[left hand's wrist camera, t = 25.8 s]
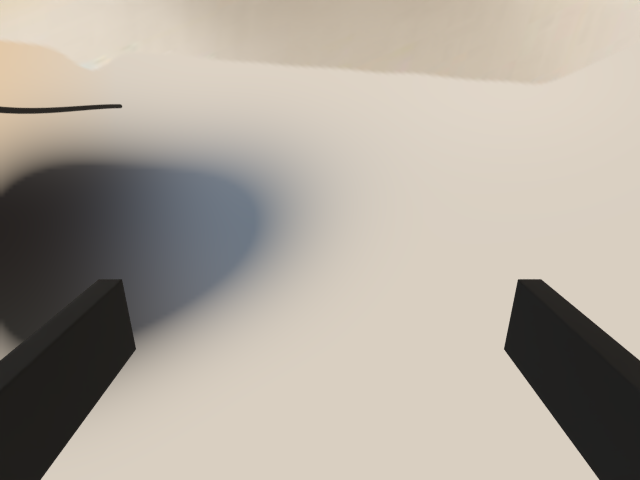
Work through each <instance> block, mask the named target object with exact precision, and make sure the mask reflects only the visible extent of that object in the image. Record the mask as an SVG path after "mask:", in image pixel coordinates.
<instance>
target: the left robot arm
mask: <svg viewBox="0 0 640 480" xmlns="http://www.w3.org/2000/svg"><path fill="white" fill-rule="evenodd" d="M112 108H122V105H121V104H103V105H85V106H70V107H51V108H15V107H1V106H0V113H10V114H41V113H59V112H72V111H84V110H96V109H112ZM135 350H136V347H135V342H134V337H133V332H132V327H131V323H130V317H129V313H128V307H127V302H126V297H125V292H124V287H123V283H122V280H121V279H118V280H117V279H114V280H113V279H101V280H98V281H96V282H95V283H94V284H93V285H91V286H90V287H89V288H88V289H87V290H85V291H84V292H83V293H82V294H81V295H79V296H78V297H77V298H76V299H74V300H73V301H72V302H71V303H70V304H68V305H67V306H66V307H65V308H64V309H62V310H61V311H60V312H59V313H58V314H56V315H55V316H54V317H53V318H51V319H50V320H49V321H48V322H47V323H45V324H44V325H43V326H42V327H41V328H39V329H38V330H37V331H36V332H34V333H33V334H32V335H31V336H30V337H28V338H27V339H26V340H25V341H24V342H22V343H21V344H20V345H19V346H18V347H16V348H15V349H14V350H13V351H11V352H10V353H9V354H8V355H7V356H5V357H4V358H3V359H2V360H0V480H41V478H42V477H43V476H44V474H45V473H46V471H47V470H48V469H49V467H50V466H51V465H52V463H53V462H54V460H55V459H56V458H57V456H58V455H59V454H60V452H61V451H62V450H63V448H64V447H65V446H66V444H67V443H68V441H69V440H70V439H71V437H72V436H73V435H74V433H75V432H76V430H77V429H78V428H79V426H80V425H81V424H82V422H83V421H84V420H85V418H86V417H87V415H88V414H89V413H90V411H91V410H92V409H93V407H94V406H95V404H96V403H97V402H98V400H99V399H100V398H101V396H102V395H103V393H104V392H105V391H106V389H107V388H108V387H109V385H110V384H111V383H112V381H113V380H114V378H115V377H116V376H117V374H118V373H119V372H120V370H121V369H122V367H123V366H124V365H125V363H126V362H127V361H128V359H129V358H130V357H131V355H132V354H133V352H134V351H135ZM504 350H505V351H506V352H507V354H508V355H509V357H510V358H511V359H512V361H513V362H514V363H515V365H516V366H517V368H518V369H519V370H520V372H521V373H522V374H523V376H524V377H525V378H526V380H527V381H528V383H529V384H530V385H531V387H532V388H533V389H534V391H535V392H536V394H537V395H538V396H539V398H540V399H541V400H542V402H543V403H544V404H545V406H546V407H547V408H548V410H549V411H550V413H551V414H552V415H553V417H554V418H555V420H556V421H557V422H558V424H559V425H560V426H561V428H562V429H563V430H564V432H565V433H566V435H567V436H568V437H569V439H570V440H571V441H572V443H573V444H574V445H575V447H576V448H577V450H578V451H579V452H580V454H581V455H582V456H583V458H584V459H585V460H586V462H587V463H588V465H589V466H590V467H591V469H592V470H593V471H594V473H595V474H596V476H597V477H598V478H599V480H640V361H639V360H638V359H637V358H636V357H635V356H633V355H632V354H631V353H630V352H629V351H627V350H626V349H625V348H624V347H623V346H621V345H620V344H619V343H618V342H616V341H615V340H614V339H613V338H612V337H610V336H609V335H608V334H607V333H606V332H604V331H603V330H602V329H601V328H599V327H598V326H597V325H596V324H595V323H593V322H592V321H591V320H590V319H589V318H587V317H586V316H585V315H584V314H582V313H581V312H580V311H579V310H578V309H576V308H575V307H574V306H573V305H571V304H570V303H569V302H568V301H567V300H565V299H564V298H563V297H562V296H561V295H559V294H558V293H557V292H556V291H555V290H553V289H552V288H551V287H550V286H548V285H547V284H546V283H545V282H544V281H542V280H540V279H520V280H518V282H517V288H516V292H515V297H514V302H513V307H512V312H511V317H510V322H509V327H508V332H507V337H506V342H505V347H504Z"/></svg>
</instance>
